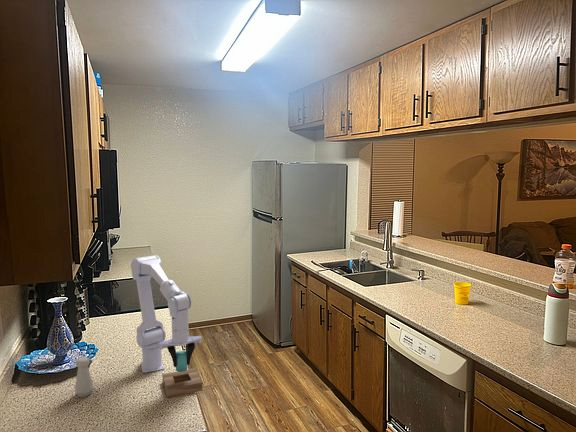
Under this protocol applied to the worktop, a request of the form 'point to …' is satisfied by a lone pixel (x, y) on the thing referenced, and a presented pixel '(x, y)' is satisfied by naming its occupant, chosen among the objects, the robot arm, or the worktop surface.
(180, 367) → the teal pin
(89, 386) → the salt shaker
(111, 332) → the worktop surface
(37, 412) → the worktop surface
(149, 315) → the robot arm
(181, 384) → the socket block
